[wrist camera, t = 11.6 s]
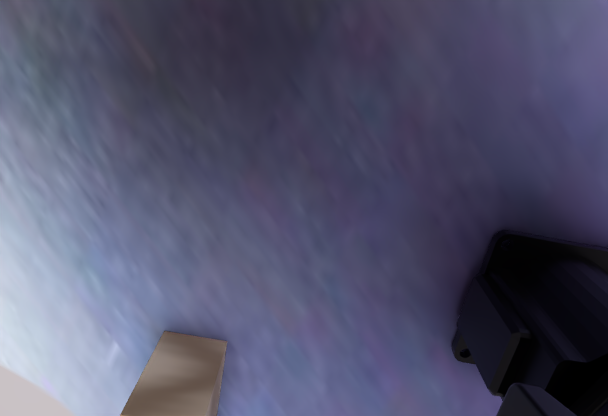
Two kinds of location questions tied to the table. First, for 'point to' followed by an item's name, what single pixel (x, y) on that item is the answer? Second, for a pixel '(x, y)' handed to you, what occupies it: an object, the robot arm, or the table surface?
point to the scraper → (180, 378)
